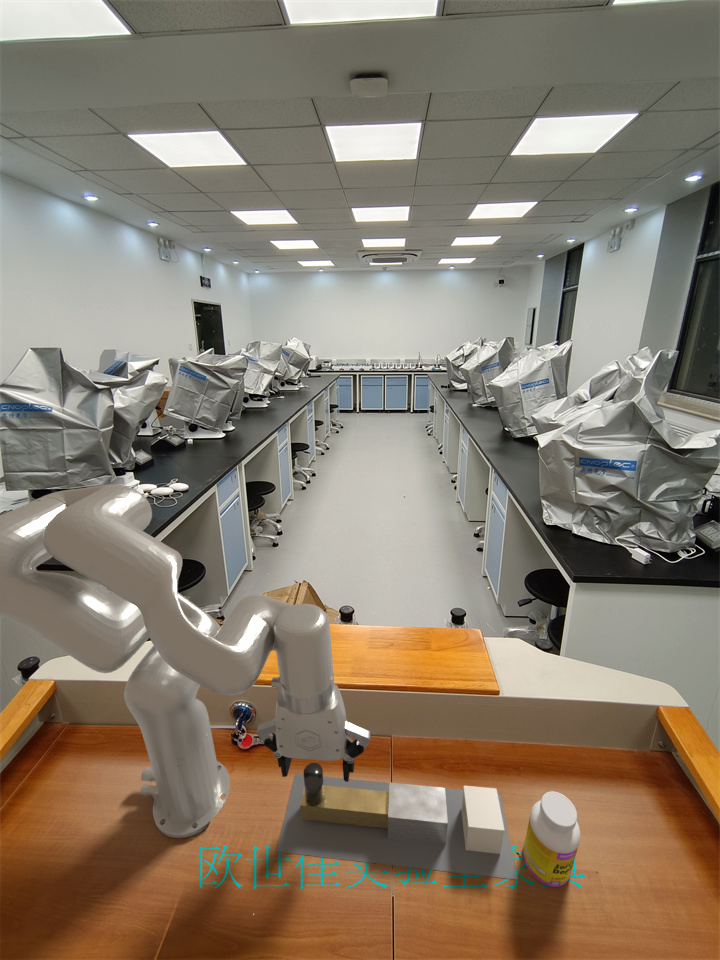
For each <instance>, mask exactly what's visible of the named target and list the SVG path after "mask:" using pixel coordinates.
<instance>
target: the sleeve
mask: <svg viewBox="0 0 720 960" xmlns="http://www.w3.org/2000/svg"><path fill="white" fill-rule="evenodd" d="M388 783H389V808H388V839H396V840H405V841H414V842H423V843H432V844H441V845H446V837H447V827H448V819H447V807H446V795H445V788H446V787H440V786H439V787H438V786H431V785H430V786H428V785H418V784H408V783H398V782H388Z"/></svg>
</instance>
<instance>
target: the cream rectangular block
mask: <svg viewBox="0 0 720 960" xmlns="http://www.w3.org/2000/svg"><path fill="white" fill-rule="evenodd" d="M462 787H463V788H462V790H463V795H462V804H461V812H462V821H463V830H464V839H465V848H466V850H469V851H478V852H487V853H496V854H501V848H502V842H503V836H504V831H505V830H504V825H503V820H502V815H501V809H500V804H499V799H498V794H497V793H498V790H497V788H496V787H495V788H494V787H483V786H474V785H473V786H472V785H463V786H462Z"/></svg>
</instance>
